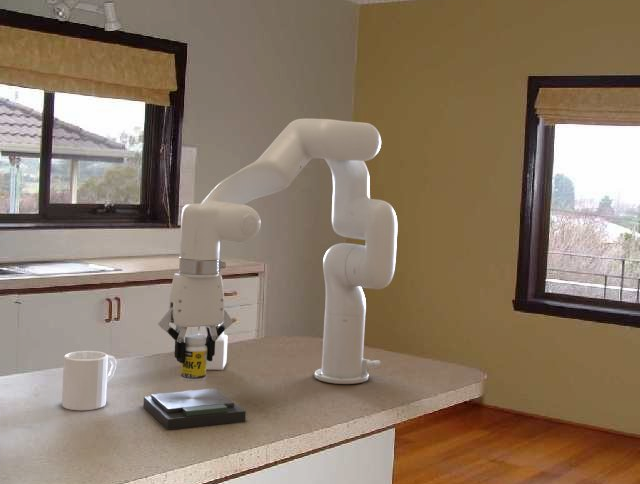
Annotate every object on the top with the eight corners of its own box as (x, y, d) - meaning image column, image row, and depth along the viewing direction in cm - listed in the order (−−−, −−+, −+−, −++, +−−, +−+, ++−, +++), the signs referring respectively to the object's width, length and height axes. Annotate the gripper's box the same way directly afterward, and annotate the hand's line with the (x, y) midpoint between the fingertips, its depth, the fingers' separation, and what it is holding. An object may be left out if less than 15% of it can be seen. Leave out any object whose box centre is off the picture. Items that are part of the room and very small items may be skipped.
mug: (129, 400, 177) (131, 351, 177) (82, 413, 167) (84, 362, 166) (100, 393, 181) (103, 345, 181) (52, 405, 171) (55, 355, 170)
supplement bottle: (178, 381, 169) (180, 337, 168) (184, 375, 174) (186, 333, 173) (203, 382, 169) (205, 339, 168) (208, 376, 174) (210, 334, 173)
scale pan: (214, 392, 180) (214, 388, 179) (234, 406, 170) (234, 402, 170) (151, 398, 173) (151, 394, 173) (167, 413, 163) (168, 408, 163)
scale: (216, 399, 181) (216, 385, 181) (245, 421, 168) (246, 406, 168) (143, 406, 173) (144, 391, 173) (167, 430, 160) (168, 413, 160)
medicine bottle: (196, 362, 213) (198, 313, 212) (226, 363, 213) (228, 314, 213) (192, 369, 206) (194, 318, 205) (222, 370, 206) (225, 319, 206)
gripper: (233, 264, 178) (228, 354, 179) (149, 265, 169) (145, 359, 170) (247, 269, 172) (242, 362, 172) (161, 270, 163) (156, 368, 163)
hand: (194, 359), depth 171 cm, fingers closed on supplement bottle, 4 cm apart
